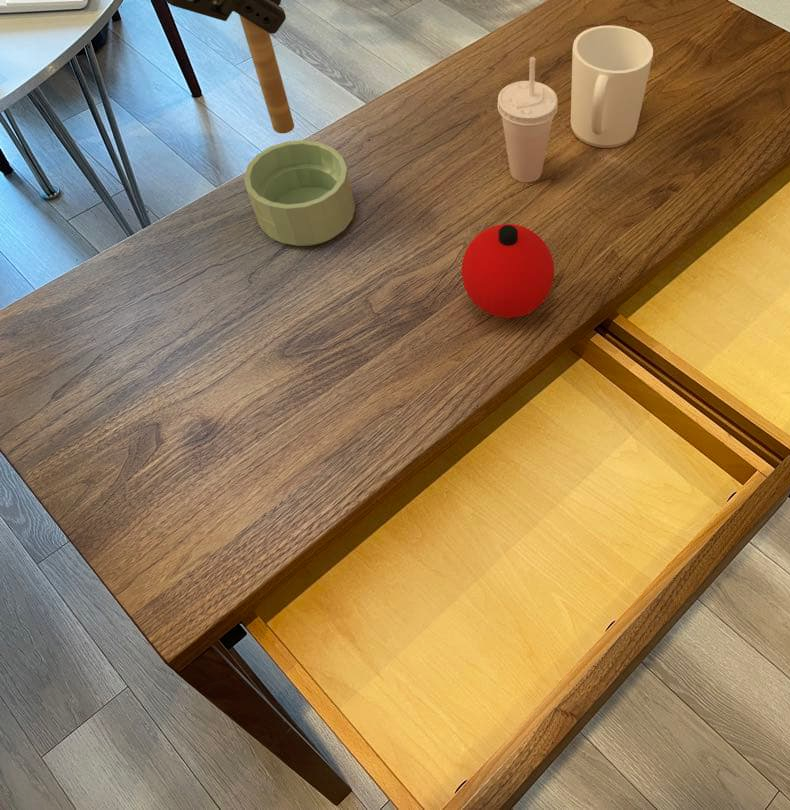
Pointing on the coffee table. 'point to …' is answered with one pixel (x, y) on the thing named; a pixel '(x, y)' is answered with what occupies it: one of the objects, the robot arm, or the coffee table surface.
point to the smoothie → (527, 124)
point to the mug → (608, 84)
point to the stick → (268, 76)
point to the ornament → (507, 270)
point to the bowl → (300, 192)
